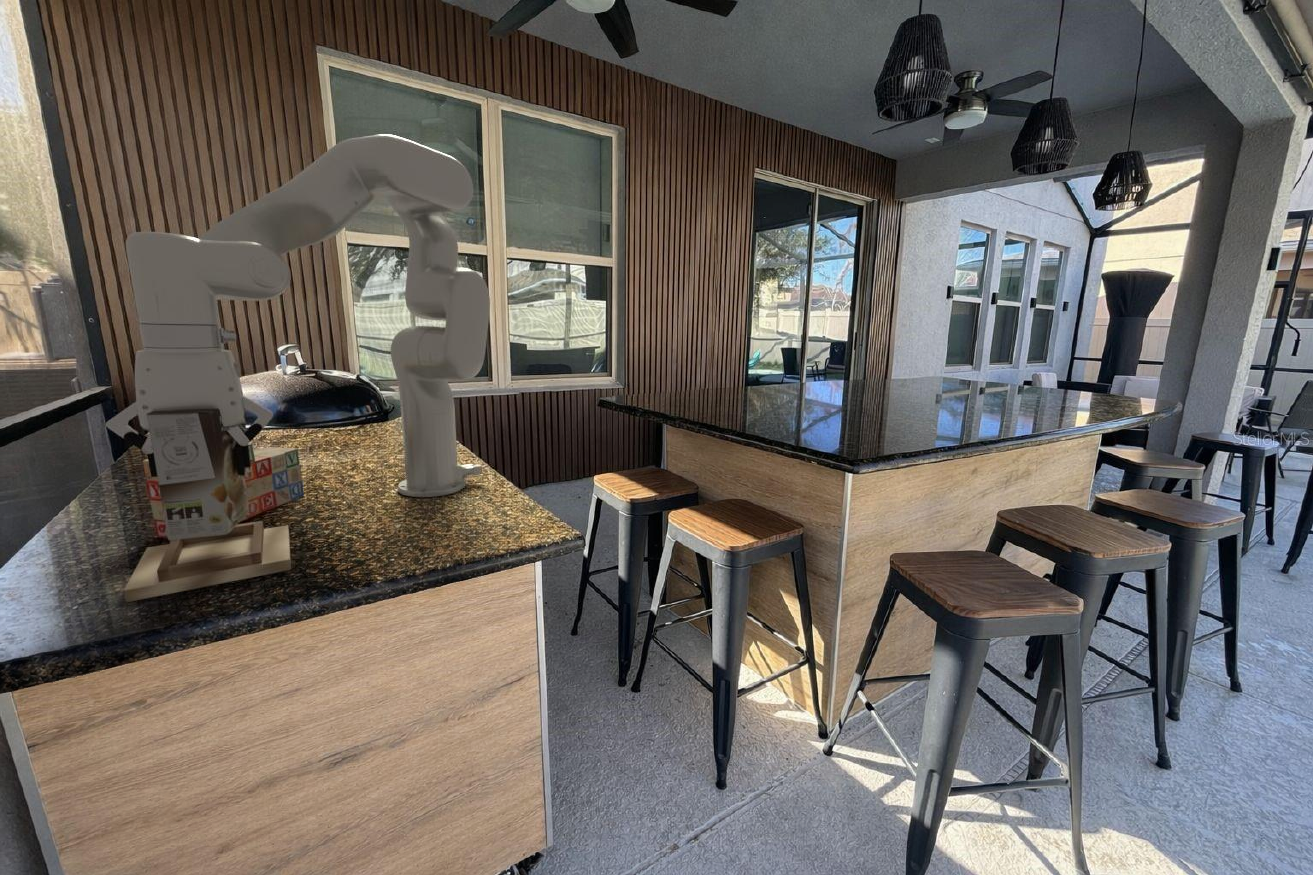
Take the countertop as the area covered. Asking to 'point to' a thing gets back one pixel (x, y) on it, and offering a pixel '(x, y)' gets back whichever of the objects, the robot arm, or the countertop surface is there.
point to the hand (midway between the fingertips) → (204, 476)
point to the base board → (210, 561)
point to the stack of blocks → (249, 483)
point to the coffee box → (197, 473)
